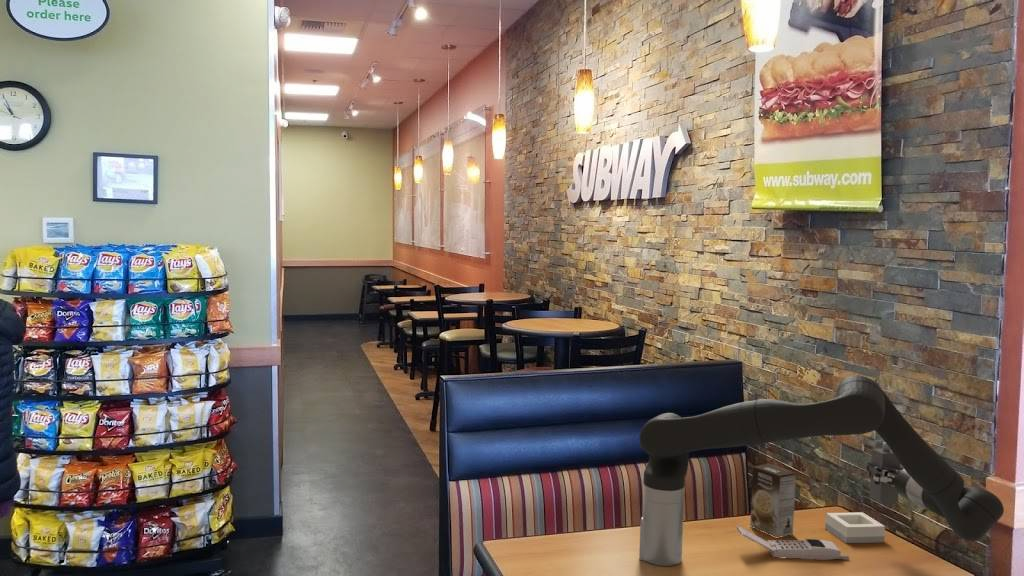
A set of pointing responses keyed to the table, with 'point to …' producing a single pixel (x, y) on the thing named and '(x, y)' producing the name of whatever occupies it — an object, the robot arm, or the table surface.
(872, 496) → the plug
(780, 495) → the coffee box
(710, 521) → the table surface
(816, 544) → the mobile phone
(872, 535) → the socket block
